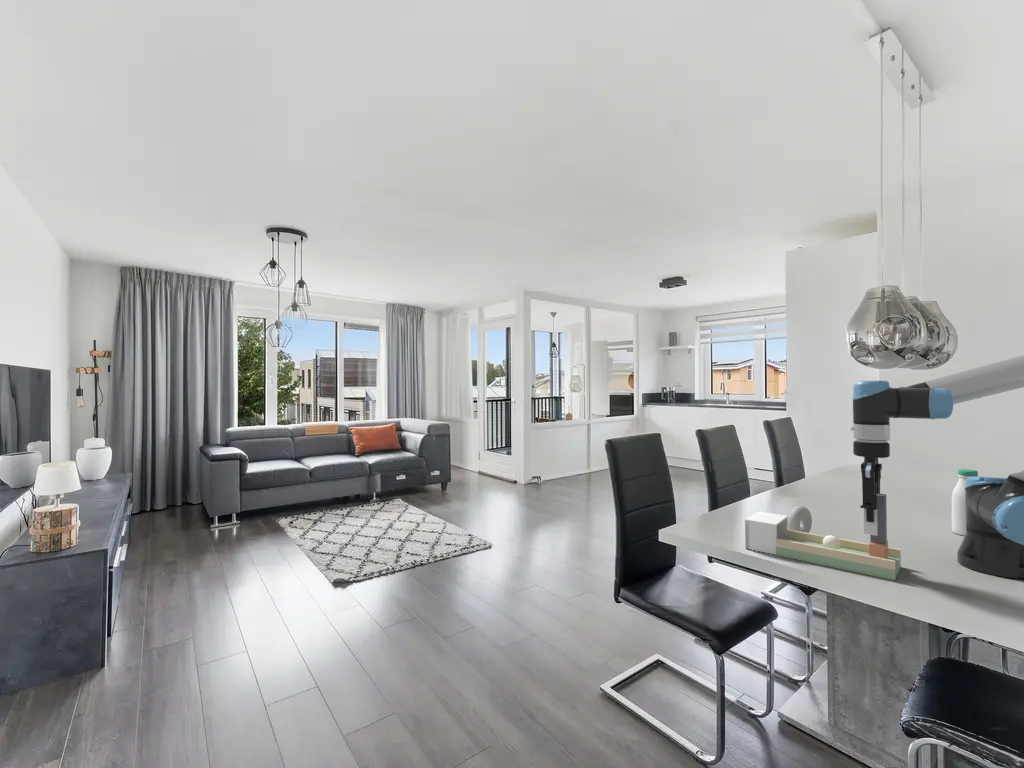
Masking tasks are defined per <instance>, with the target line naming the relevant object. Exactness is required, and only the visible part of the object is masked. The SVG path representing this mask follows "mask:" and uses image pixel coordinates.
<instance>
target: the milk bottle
mask: <svg viewBox="0 0 1024 768" xmlns="http://www.w3.org/2000/svg"><path fill="white" fill-rule="evenodd" d="M971 476H977V477H979V472H978V470H975V469H970V468H969V469H968V468H967V469H966V468H958V469H957V477H958V481H957V483H956V485H955V486H954V488H953V490H952V493H951V531H952V533H954V534H956V535H960V536H963V537H964V536H965V534H966V499H965V489H964V488H965V485H966V479H967V478H968V477H971Z"/></svg>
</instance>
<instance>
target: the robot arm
mask: <svg viewBox="0 0 1024 768" xmlns="http://www.w3.org/2000/svg"><path fill="white" fill-rule="evenodd" d="M1021 388H1024V354H1022V355H1020V356H1019V355H1018V356H1015V357H1011V358H1007V359H1004V360H1001V361H997V362H992V363H990V364H985V365H982V366H979V367H975V368H970V369H967V370H963V371H960V372H956V373H952V374H949V375H945V376H942V377H937V378H933V379H930V380H927V381H923V382H919V383H915V384H912V385H908V386H900V387H891V386H890V382H889V381H888V380H858V381H855V382H854V384H853V391H852V392H853V393H852V416H853V417H852V419H853V421H852V422H853V426H851V427H850V431H853V439H855V440H854V441H853V442H852V443H853V444H852V446H853V447H852V449H853V451H852V452H853V455H855V456H857V457H862V458H863V462H862V463H860V472H861V483H862V490H861V491H862V505H860V506H859V508H861V509H863V534H864V535H869V536H870V535H875V536H877V535H878V515H877V507H876V494H877V493H879V494H881V479H882V474H881V473H882V472H881V471H882V469H883V465H882V463H880V462H879V459H886V458H887V459H888V458H889V457H890V455H891V451H890V449H891V446H890V445H891V444H890V443H889V442H888V441H890V439H891V427H890V426H891V425H890V419H892V418H893V419H920V420H921V419H923V420H924V419H926V420H927V419H928V420H929V419H930V420H937V419H938V420H939V419H940V420H941V419H942V420H943V419H948V418H950V417H951V416H952V415H953V414H952V413H953V410H954V405H956V404H960V403H964V402H969V401H973V400H977V399H981V398H984V397H989V396H993V395H997V394H1002V393H1005V392H1010V391H1013V390H1018V389H1021ZM964 489H965V499H966V534H965V536H963V539H962V541H961V544H960V546H959V548H958V549H957V554H956V556H957V562H958V564H960V565H961V566H964V567H965V568H968V569H970V570H972V571H973V570H974V571H976V572H980V573H984V574H988V575H993V576H997V577H1004V578H1010V579H1011V578H1012V579H1018V578H1024V469H1023V470H1022V471H1020V472H1013V473H1010V474H1009V475H1008V476H1007V477H996V476H994V477H992V476H978V477H977V476H971V477H968V478H967V479H966V485H965V488H964Z"/></svg>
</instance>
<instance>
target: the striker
mask: <svg viewBox="0 0 1024 768" xmlns="http://www.w3.org/2000/svg"><path fill="white" fill-rule="evenodd" d="M876 507H877V515H878V535H877V536H875V535H869V537H870V538H869V539H870V541H869V543H868V544H869V556H874V557H879V558H884V559H887V557H888V547H889V540H888V539H887V538H888V535H887V534H888V531H887V530H888V527H887V526H888V525H887V524H888V523H887V520H888V519H887V518H888V517H887V493H880V494H879V493H877V494H876Z"/></svg>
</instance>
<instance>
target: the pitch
mask: <svg viewBox="0 0 1024 768" xmlns="http://www.w3.org/2000/svg"><path fill="white" fill-rule="evenodd" d="M788 517H789V515H785V514H784V515H783V514H778V513H773V512H765V511H760V510H759V511H757V512H754V513H753V514H751V515H750V516H748V517H747V518H745V519H744V522H745V523H744V530H745V532H744V534H745V536H744V537H745V539H744V540H745V543H744V546H745V547H744V549H745V548H749V549H753V550H757V551H756V552H758V551H761V552H760V553H762V552H766V553H765V554H767V553H771V554H770V555H772V554H776V555H775V556H777V555H780V556H779V557H781V556H784V557H783V558H786V557H789V558H788V559H791V558H793V559H792V560H795V559H797V561H800V560H801V562H805V561H806V563H811V564H815V565H820V566H824V567H830V568H832V569H833V568H834V569H839V570H844V571H848V572H852V573H853V572H854V573H858V574H864V575H867V576H872V577H878V578H882V579H886V580H889V581H891V580H892V581H896V579H897V577H898V574H899V572H900V569H901V568H902V565H901V563H902V560H901V559H902V558H901V557H902V555H901V548H895V547H889V546H888V557H887V559H884V558H879V557H874V556H869V543H866V542H862V541H857V540H850V539H844V538H838V537H837V538H838V539H839V541H840V544H841V545H840V548H839V549H838V550H837V549H831V548H826V547H824V545H823V539H824V538H825V537H826V536H827V535H821V534H817V533H816V534H815V533H810V532H809V533H805V532H799V531H794V530H789V529H788ZM753 550H752V551H753Z"/></svg>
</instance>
